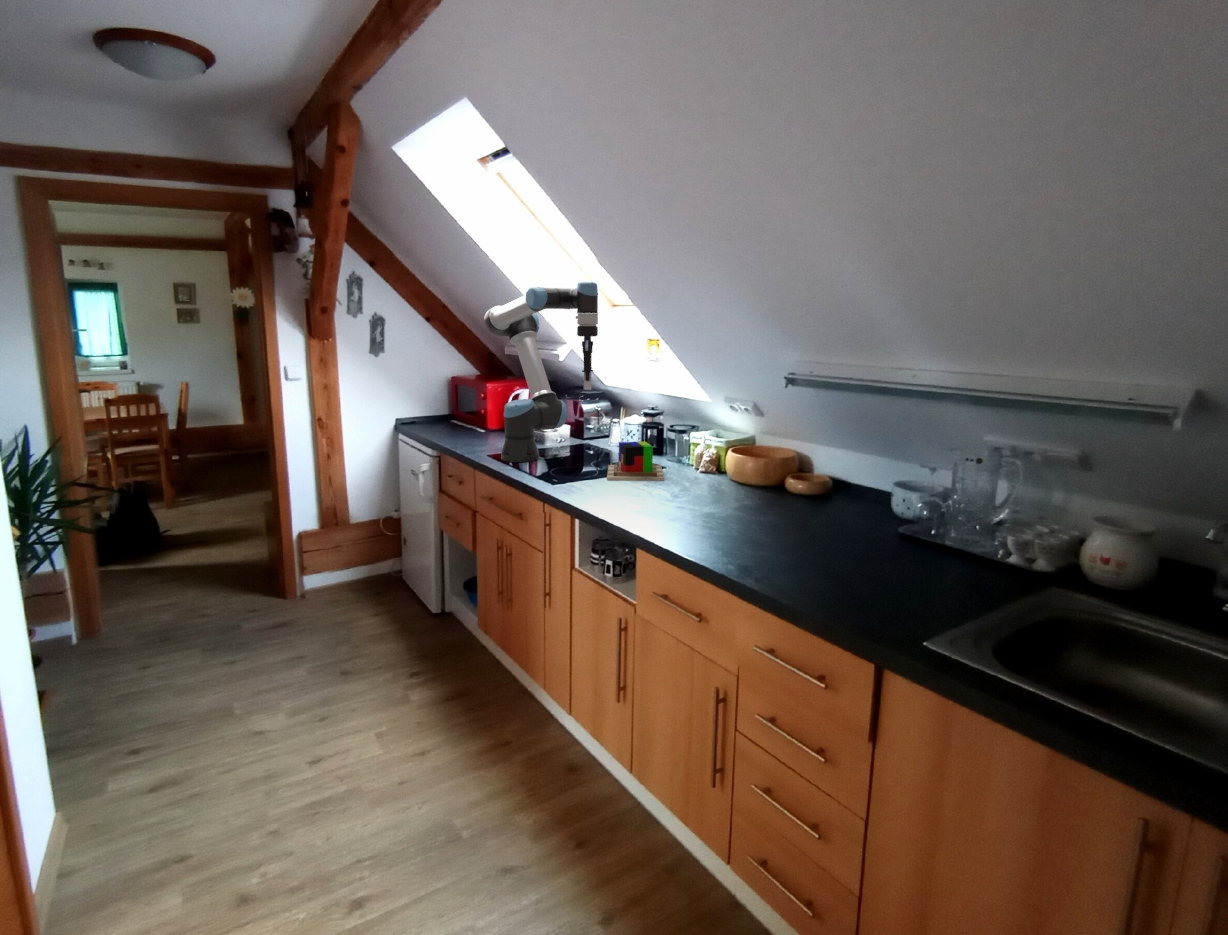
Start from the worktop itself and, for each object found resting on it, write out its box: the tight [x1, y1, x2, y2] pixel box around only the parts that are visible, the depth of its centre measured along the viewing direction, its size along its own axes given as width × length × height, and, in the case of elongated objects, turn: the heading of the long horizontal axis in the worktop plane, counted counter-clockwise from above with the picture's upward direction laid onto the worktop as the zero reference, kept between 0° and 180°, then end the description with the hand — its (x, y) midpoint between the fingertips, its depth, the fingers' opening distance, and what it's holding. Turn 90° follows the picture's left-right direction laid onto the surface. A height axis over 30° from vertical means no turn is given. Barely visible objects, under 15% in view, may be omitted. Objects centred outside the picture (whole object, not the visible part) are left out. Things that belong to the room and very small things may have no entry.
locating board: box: [606, 462, 665, 482], centre depth 255 cm, size 20×20×2 cm
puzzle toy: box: [618, 441, 654, 472], centre depth 254 cm, size 10×10×10 cm
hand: (587, 389), depth 262 cm, fingers closed
